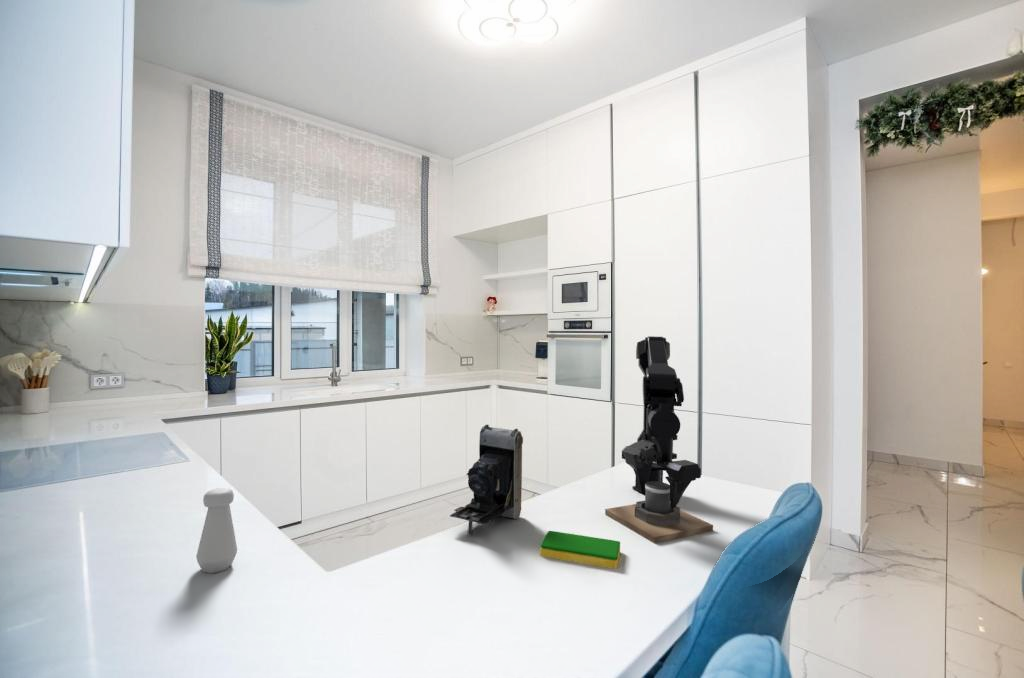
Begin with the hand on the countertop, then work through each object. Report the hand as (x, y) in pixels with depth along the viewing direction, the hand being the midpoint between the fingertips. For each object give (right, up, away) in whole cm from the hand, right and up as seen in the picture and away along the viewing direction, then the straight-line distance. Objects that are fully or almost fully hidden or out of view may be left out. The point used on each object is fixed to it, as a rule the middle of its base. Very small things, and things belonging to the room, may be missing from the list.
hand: (657, 500), depth 103 cm
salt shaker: (-82, -3, -24) cm, 85 cm away
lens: (0, -4, 0) cm, 4 cm away
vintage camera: (-37, -4, -3) cm, 38 cm away
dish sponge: (-19, -5, -16) cm, 25 cm away
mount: (0, -5, 0) cm, 5 cm away
